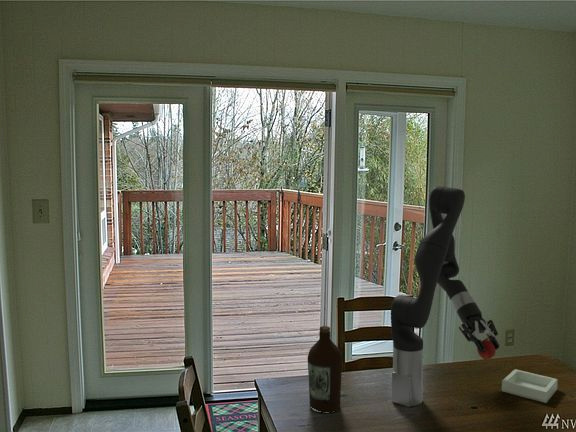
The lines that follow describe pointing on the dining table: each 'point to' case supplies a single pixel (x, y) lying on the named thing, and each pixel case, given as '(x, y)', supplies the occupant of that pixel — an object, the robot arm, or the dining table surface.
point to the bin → (529, 385)
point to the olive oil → (325, 373)
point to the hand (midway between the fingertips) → (490, 349)
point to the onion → (487, 350)
